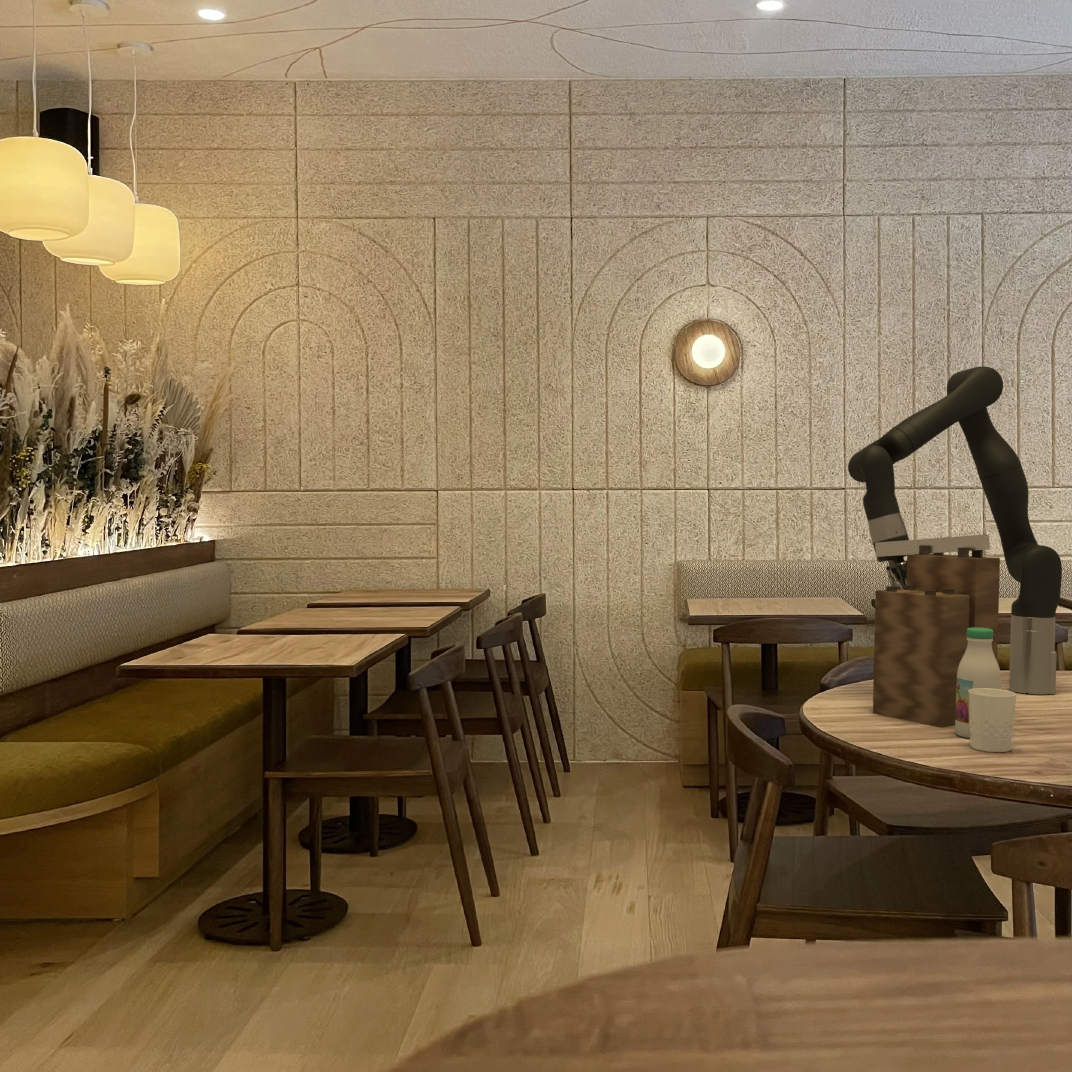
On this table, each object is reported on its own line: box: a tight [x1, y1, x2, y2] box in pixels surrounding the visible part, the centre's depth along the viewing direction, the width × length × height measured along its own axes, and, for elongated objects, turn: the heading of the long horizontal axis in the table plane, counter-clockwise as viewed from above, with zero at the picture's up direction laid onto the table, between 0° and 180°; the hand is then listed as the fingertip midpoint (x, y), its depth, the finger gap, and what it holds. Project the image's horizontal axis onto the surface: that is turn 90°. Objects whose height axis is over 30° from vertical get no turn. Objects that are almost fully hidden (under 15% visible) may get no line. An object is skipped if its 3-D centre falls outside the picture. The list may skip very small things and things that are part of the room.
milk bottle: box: [954, 628, 1002, 739], centre depth 211 cm, size 8×8×20 cm
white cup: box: [968, 688, 1017, 753], centre depth 202 cm, size 8×8×10 cm
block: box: [875, 534, 991, 558], centre depth 236 cm, size 24×3×3 cm, turn 41°
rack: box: [872, 545, 1001, 728], centre depth 230 cm, size 16×18×34 cm
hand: (909, 610), depth 245 cm, fingers open, 8 cm apart
